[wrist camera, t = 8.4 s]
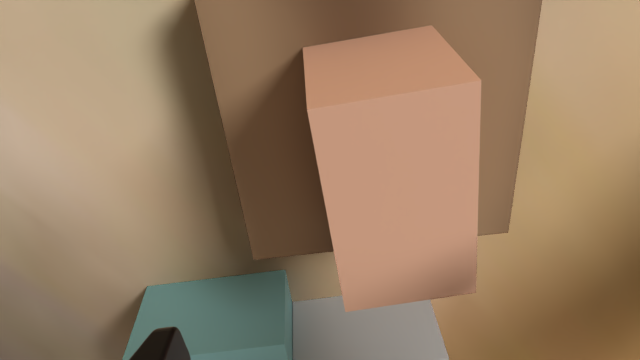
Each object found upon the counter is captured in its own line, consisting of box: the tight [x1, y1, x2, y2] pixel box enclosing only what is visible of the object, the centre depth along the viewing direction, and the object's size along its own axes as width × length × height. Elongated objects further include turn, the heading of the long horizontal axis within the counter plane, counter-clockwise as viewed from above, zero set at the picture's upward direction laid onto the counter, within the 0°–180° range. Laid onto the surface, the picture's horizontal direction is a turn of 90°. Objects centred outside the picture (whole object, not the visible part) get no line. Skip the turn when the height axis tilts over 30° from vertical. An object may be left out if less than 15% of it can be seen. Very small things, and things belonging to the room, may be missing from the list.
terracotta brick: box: [303, 25, 481, 312], centre depth 13 cm, size 6×4×4 cm, turn 9°
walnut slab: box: [194, 0, 542, 260], centre depth 16 cm, size 9×9×3 cm
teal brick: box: [122, 270, 293, 360], centre depth 20 cm, size 6×4×4 cm, turn 97°
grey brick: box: [293, 296, 449, 360], centre depth 21 cm, size 6×4×4 cm, turn 97°
